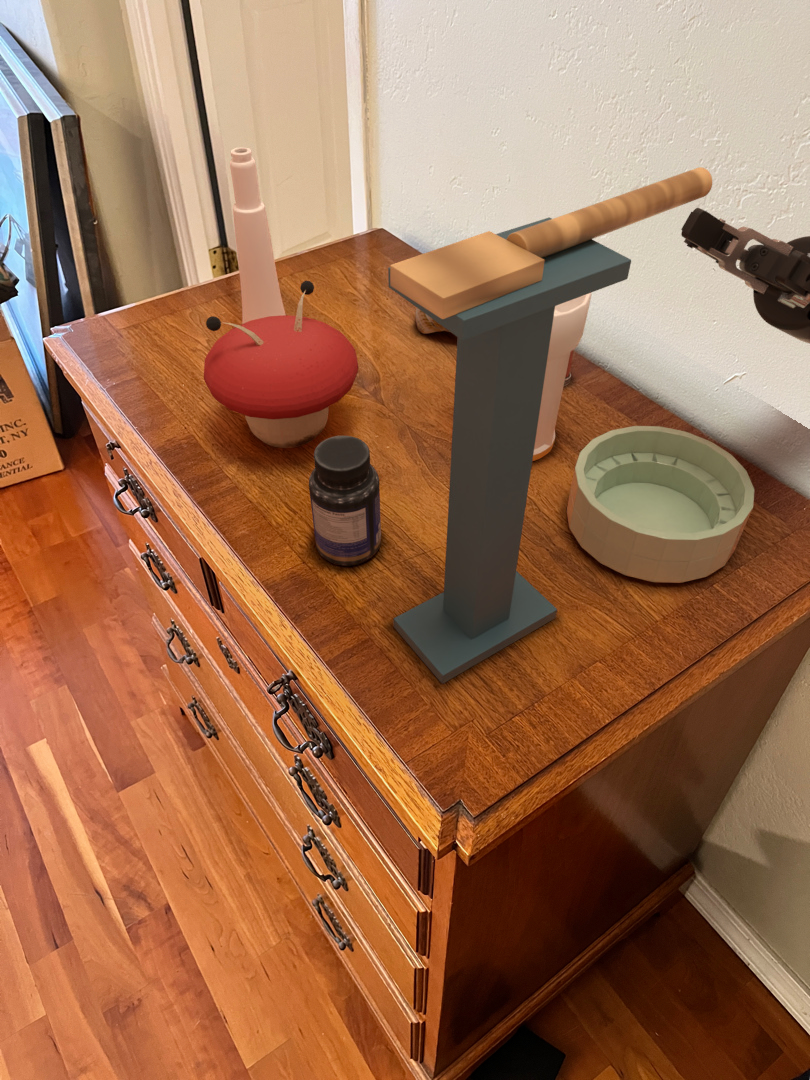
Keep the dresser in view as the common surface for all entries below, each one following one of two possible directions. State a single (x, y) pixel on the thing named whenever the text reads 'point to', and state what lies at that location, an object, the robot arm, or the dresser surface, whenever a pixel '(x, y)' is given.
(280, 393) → the mushroom
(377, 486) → the pill bottle
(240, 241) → the cosmetic bottle
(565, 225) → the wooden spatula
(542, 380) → the headphone stand
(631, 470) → the bowl
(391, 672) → the dresser surface
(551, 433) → the cup
